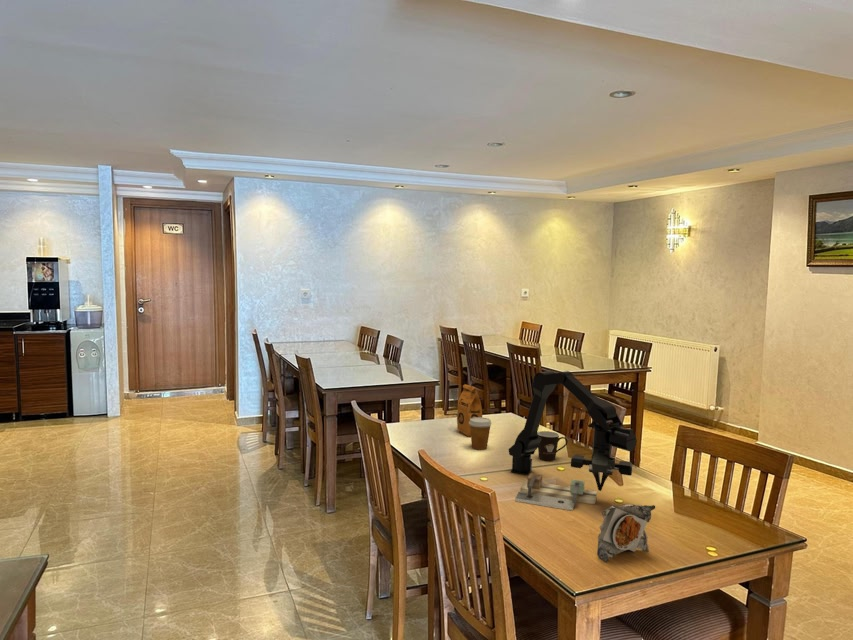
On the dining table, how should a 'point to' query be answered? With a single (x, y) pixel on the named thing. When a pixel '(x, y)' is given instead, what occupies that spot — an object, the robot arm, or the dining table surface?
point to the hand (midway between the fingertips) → (599, 490)
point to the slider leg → (576, 488)
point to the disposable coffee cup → (479, 432)
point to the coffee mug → (549, 445)
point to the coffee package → (468, 409)
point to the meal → (623, 530)
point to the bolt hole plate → (545, 501)
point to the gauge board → (555, 490)
